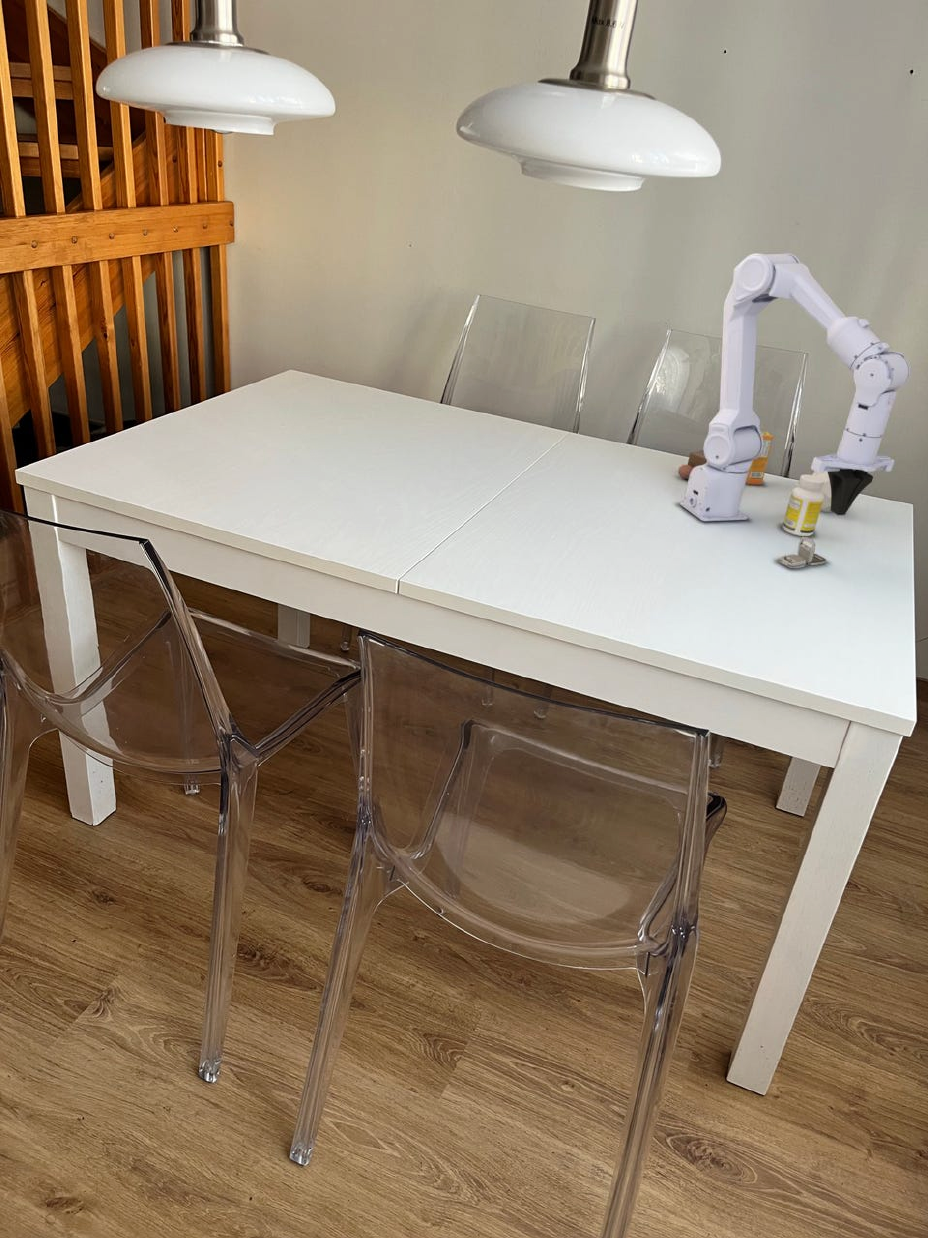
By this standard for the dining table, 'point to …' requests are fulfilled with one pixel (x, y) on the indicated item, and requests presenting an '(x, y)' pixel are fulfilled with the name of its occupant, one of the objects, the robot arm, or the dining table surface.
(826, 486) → the die
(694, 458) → the walnut block
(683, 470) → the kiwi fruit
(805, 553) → the strap clip
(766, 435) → the supplement box
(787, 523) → the supplement bottle
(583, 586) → the dining table surface
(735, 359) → the robot arm
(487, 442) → the dining table surface
